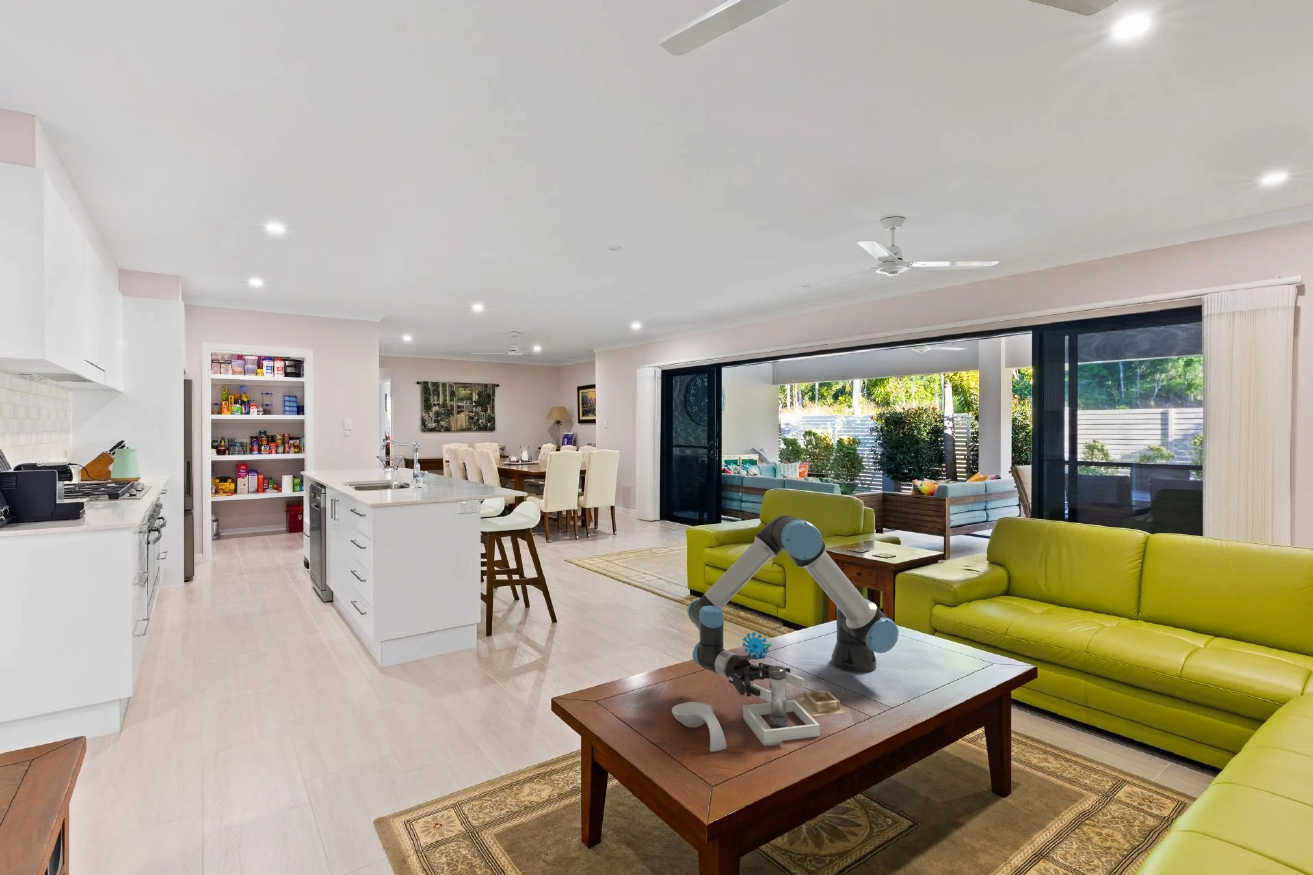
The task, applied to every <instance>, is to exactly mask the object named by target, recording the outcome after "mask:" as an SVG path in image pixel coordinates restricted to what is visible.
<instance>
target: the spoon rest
mask: <svg viewBox="0 0 1313 875" xmlns="http://www.w3.org/2000/svg"><path fill="white" fill-rule="evenodd" d="M671 714H672V715H673V717H674V718H675V719H676V720H677V721H678V722H679V723H681V724H682V725H683V726H685V727H688V728H699V727H701V726H703V725H704V724H705V723H706V725H707V728H708V731H709V752H711V753H713V752H718V751H723V750H726V749H727V741H726V738H725V734H724V731H723V729H722V727H721V724H720V722H719V720H718V718H717V716H716V715H715V712H714V708H713V707H712V706H711V705H709V704H708V703H705V702H699V701H687V702H682V703H678V704H676V705H674V706H673V707H672V708H671Z"/></svg>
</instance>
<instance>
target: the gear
mask: <svg viewBox="0 0 1313 875" xmlns="http://www.w3.org/2000/svg"><path fill="white" fill-rule="evenodd" d="M756 635H757V633H756V632H755V631H753V632H752V633H750V632H749V633H747V634H746V636H744V637H743V638H742V640H743V642H742V647H745V648H744V653H748V652H750V653H749V654H748V655H749V656H750V658H753V657H755V659H759V658H760V657H761V658H765V657H766V655H765V654H767V653H769V648H770V647H771V646H772V643H771V642H769V643H766V642H767V638H766V637H764V638H762V637H763V635H762V634H761V633H758V635H757V636H756ZM751 636H752V637H751ZM755 636H756V637H755ZM761 638H762V639H761ZM754 654H756V655H755V656H754Z"/></svg>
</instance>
